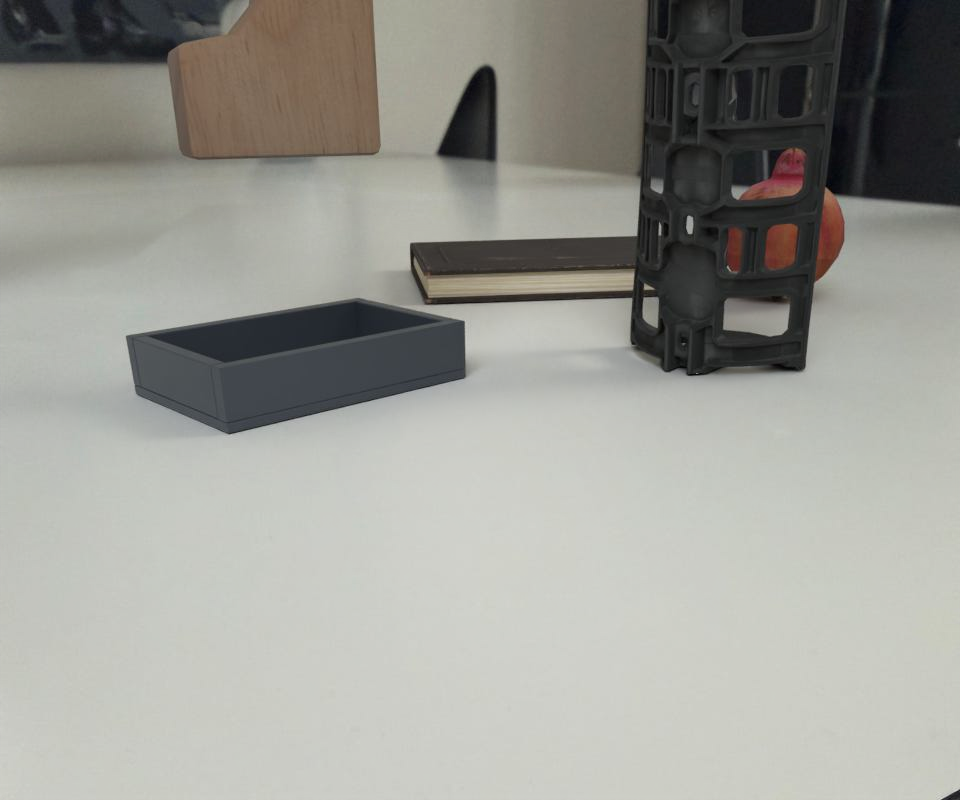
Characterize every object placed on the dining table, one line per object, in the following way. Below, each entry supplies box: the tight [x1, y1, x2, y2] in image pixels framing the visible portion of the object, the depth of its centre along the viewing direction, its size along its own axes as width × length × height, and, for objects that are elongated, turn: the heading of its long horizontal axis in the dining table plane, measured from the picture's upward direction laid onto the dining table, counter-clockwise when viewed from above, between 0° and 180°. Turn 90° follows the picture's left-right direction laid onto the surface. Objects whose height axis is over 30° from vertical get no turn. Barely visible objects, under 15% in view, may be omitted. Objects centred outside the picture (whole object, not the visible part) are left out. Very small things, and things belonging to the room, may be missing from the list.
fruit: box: [727, 148, 845, 302], centre depth 71 cm, size 8×8×10 cm
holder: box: [629, 0, 848, 375], centre depth 52 cm, size 11×8×20 cm
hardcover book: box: [409, 234, 728, 305], centre depth 81 cm, size 16×23×2 cm
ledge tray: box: [125, 297, 467, 434], centre depth 53 cm, size 10×15×3 cm, turn 132°
